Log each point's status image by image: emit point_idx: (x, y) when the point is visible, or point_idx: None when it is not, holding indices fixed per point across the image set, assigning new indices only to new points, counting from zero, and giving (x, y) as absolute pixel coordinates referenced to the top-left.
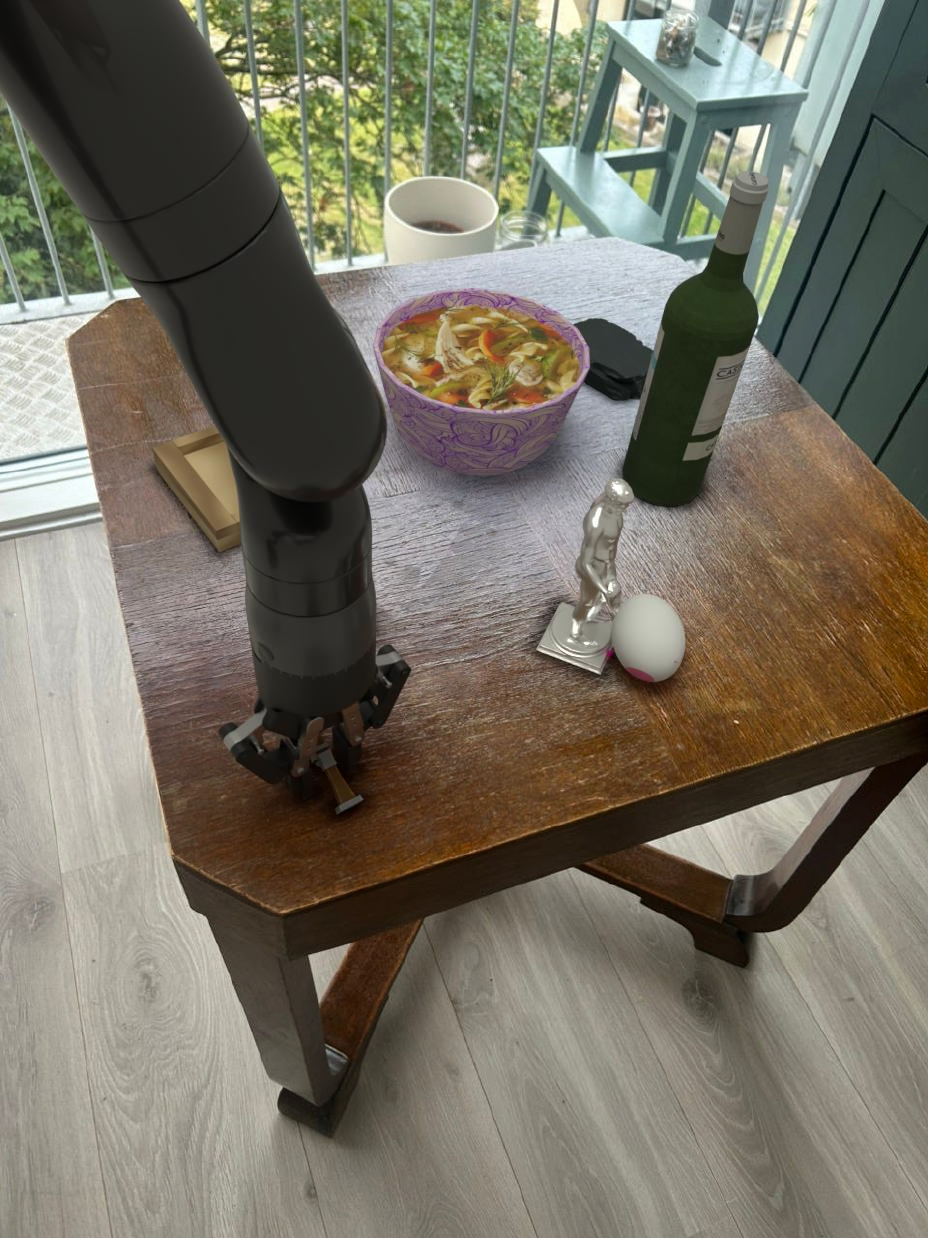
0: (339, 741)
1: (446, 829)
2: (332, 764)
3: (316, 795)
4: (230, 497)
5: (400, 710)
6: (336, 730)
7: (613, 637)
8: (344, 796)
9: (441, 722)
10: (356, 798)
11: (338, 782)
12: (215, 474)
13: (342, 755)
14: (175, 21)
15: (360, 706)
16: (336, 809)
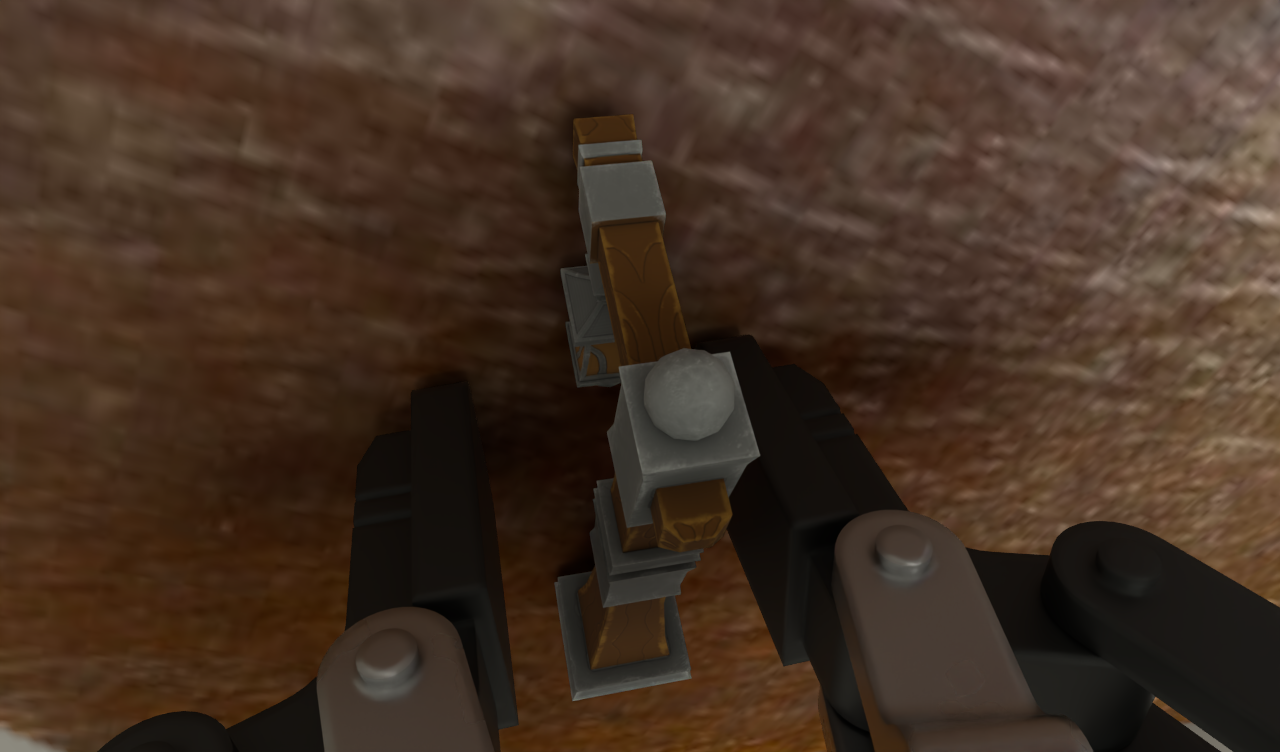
0: (773, 560)
1: None
2: (655, 596)
3: (510, 483)
4: None
5: (1150, 201)
6: (805, 550)
7: None
8: (622, 650)
9: (1216, 339)
10: (665, 672)
11: (632, 621)
12: None
13: (735, 503)
14: None
15: (1080, 679)
16: (563, 603)
